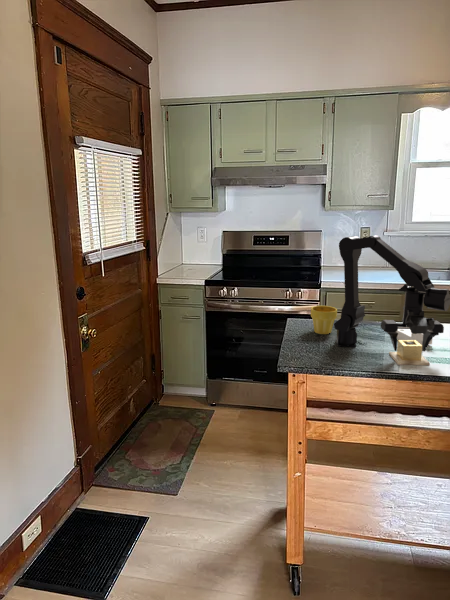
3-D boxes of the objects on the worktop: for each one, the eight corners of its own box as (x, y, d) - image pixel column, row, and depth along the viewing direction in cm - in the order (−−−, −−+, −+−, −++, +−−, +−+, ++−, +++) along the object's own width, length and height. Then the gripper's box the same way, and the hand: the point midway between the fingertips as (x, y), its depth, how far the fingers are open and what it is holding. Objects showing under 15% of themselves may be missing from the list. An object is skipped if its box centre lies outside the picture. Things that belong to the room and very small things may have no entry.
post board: (398, 364, 147) (399, 347, 145) (389, 354, 156) (390, 338, 155) (429, 365, 146) (431, 348, 145) (418, 354, 156) (420, 338, 154)
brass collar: (402, 360, 148) (403, 345, 147) (396, 353, 154) (397, 340, 153) (421, 360, 148) (422, 346, 147) (414, 354, 154) (415, 340, 153)
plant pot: (338, 335, 177) (340, 311, 174) (312, 335, 177) (313, 311, 175) (332, 328, 187) (334, 305, 185) (308, 328, 187) (308, 305, 185)
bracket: (431, 346, 165) (433, 326, 163) (414, 348, 163) (416, 328, 161) (409, 336, 177) (411, 317, 175) (393, 337, 175) (395, 318, 174)
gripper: (392, 311, 140) (388, 359, 143) (453, 312, 139) (448, 360, 142) (381, 303, 151) (378, 347, 154) (439, 303, 149) (434, 348, 153)
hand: (409, 350), depth 151 cm, fingers open, 9 cm apart
